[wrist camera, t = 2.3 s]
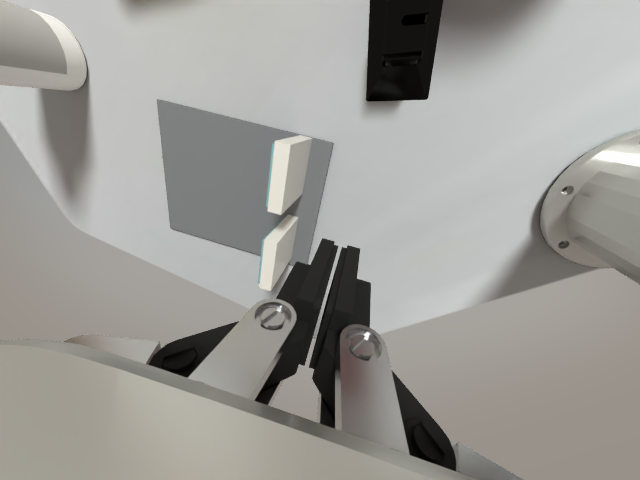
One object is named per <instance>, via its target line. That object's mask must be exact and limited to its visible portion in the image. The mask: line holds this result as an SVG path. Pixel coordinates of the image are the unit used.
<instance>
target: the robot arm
mask: <svg viewBox="0 0 640 480" xmlns="http://www.w3.org/2000/svg"><path fill="white" fill-rule="evenodd" d="M563 188H564V189H563ZM540 226H541V230H542V235H543V236H544V238H545V240H546V242H547V243H548V244H549V245H550V246H551V247H552V248H553V249H554V250H555V251H556V252H557V253H559V254H560V255H561V256H563V257H564V258H566V259H568V260H570V261H572V262H574V263H577V264H580V265H584V266H588V267H596V268H615V269H616V270H618V271H619V272H621V273H622V274H624V275H625V276H627V277H628V278H630V279H632V280H633V281H635V282H636V283H638V284H639V285H640V130H638V131H635V132H631V133H628V134H624V135H621V136H619V137H617V138H614V139H612V140H610V141H607V142H605V143H603V144H601V145H599V146H598V147H596V148H594V149H592V150H591V151H589V152H587V153H586V154H584V155H583V156H582V157H580V158H579V159H578V160H576V161H575V162H574V163H573V164H571V165H570V166H569V167H568V168H567V169H566V170H565V171H564V172H563V173H562V174H561V175H560V176H559V177H558V179H557V180H556V181H555V183H554V184H553V186H552V187H551V188H550V190H549V192H548V194H547V196H546V198H545V200H544V202H543V206H542V209H541V213H540ZM337 249H338V246H336V245H334V241H330V240H327V239H323V238H322V240H321V243H320V245H319V247H318V250H317V252H316V254H315V256H314V259H313V261H312V263H311V265H308V264H305V263H301V262H298V261H297V262H296V263H295V265H294V267H293V269H292V270H291V272H290V274H289V276H288V278H287V279H286V281H285V283H284V285H283V287H282V289H281V290H280V292H279V294H278V296H277V298H276V299H265V300H262V301H260V302H258V303H257V304H255V305H254V306H253V307H252V308H251V309H250V311H248V313H247V314H246V315H245V316H244V317H243V318H242V319H241V320H240V321H238V322H235V323H231V324H228V325H225V326H221V327H218V328H215V329H212V330H208V331H205V332H202V333H199V334H196V335H192V336H189V337H185V338H182V339H179V340H176V341H174V342H171V343H169V344H167V345H160V341H155V340H144V339H133V338H123V337H113V336H103V335H81V336H77V337H73V338H70V339H68V340H66V341H64V342H61V341H51V340H36V339H21V340H20V339H18V340H0V480H523V479H521V478H520V477H518V476H516V475H515V474H513V473H511V472H510V471H508V470H506V469H504V468H503V467H501V466H499V465H498V464H496V463H494V462H492V461H491V460H489V459H487V458H486V457H484V456H482V455H480V454H479V453H477V452H475V451H473V450H472V449H470V448H468V447H467V446H465V445H463V444H461V443H460V442H457V443H456V444H453V443H452V442H450V441H449V439H448V437H447V436H446V434H445V433H444V432H443V430H442V429H441V428H440V426H439V425H438V424H437V423H436V422H435V421H434V419H433V418H432V417H431V416H430V415H429V414H428V412H427V411H426V410H425V409H424V408H423V407H422V405H421V404H420V403H419V402H418V401H417V399H416V398H415V397H414V396H413V395H412V393H411V392H410V391H409V390H408V389H407V388H406V387H405V385H404V384H403V383H402V382H401V381H400V379H399V378H398V377H397V376H396V375H395V374H394V372H393V371H392V370H391V366H390V361H389V356H388V352H387V347H386V345H385V342H384V340H383V339H382V338H381V336H380V335H379V334H378V333H377V332H376V331H374V330H373V329H371V328H370V294H371V283H370V282H366V281H363V280H359V279H357V271H358V262H359V254H360V249H359V248H355V247H352V246H347V248H343V247H342V249H341V253H340V256H339V260H338V263H337V267H336V270H335V274H334V277H333V280H332V284H331V287H330V291H329V294H328V298H327V301H326V305H325V309H324V313H323V316H322V320H321V324H320V328H319V331H318V335H317V339H316V343H315V346H314V350H313V354H312V358H311V362H310V365H309V367H310V368H313V369H314V373H313V378H312V379H313V381H314V383H315V385H316V386H317V388H318V390H319V392H320V393H319V398H318V411H317V422H313V421H311V420H308V419H305V418H302V417H299V416H297V415H294V414H291V413H288V412H285V411H282V410H279V409H276V408H273V407H271V404H272V402H273V400H274V399H275V397H276V395H277V393H278V391H279V389H280V387H281V384H282V382H283V380H284V379H286V378H288V377H290V376H292V375H294V374H295V373H296V371H297V368H298V365H299V364H301V365H305V361H306V358H307V354H308V351H309V348H310V344H311V341H312V337H313V334H314V330H315V327H316V323H317V320H318V316H319V313H320V309H321V306H322V302H323V299H324V295H325V292H326V288H327V285H328V281H329V278H330V274H331V270H332V267H333V263H334V260H335V256H336V253H337Z"/></svg>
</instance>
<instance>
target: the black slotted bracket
mask: <svg viewBox="0 0 640 480" xmlns="http://www.w3.org/2000/svg"><path fill="white" fill-rule="evenodd" d="M442 4H443V0H370V14H369V40H368V67H367V93H366V100H367V101H396V100H425V99H427V98H428V95H429V89H430V82H431V76H432V69H433V63H434V56H435V50H436V43H437V37H438V30H439V24H440V17H441V11H442Z"/></svg>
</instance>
